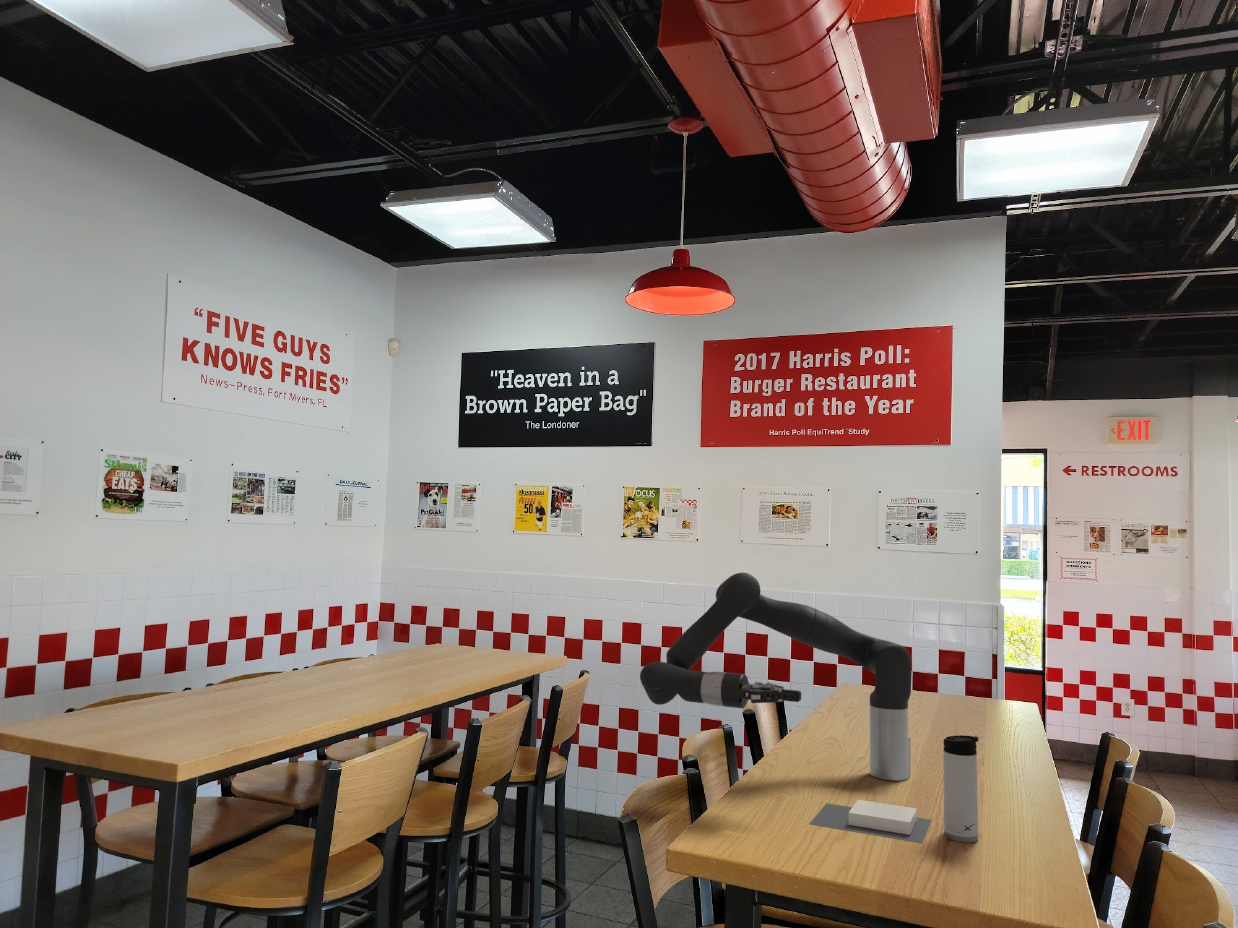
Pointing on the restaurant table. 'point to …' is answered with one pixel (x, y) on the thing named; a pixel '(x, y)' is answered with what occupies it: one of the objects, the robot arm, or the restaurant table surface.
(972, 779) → the travel mug
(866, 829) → the mat
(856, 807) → the tile
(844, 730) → the restaurant table surface
